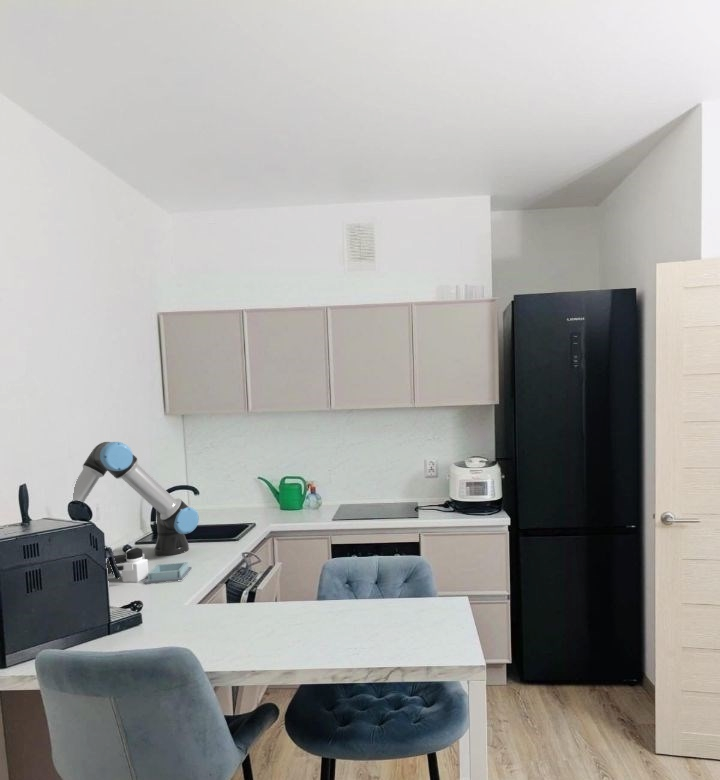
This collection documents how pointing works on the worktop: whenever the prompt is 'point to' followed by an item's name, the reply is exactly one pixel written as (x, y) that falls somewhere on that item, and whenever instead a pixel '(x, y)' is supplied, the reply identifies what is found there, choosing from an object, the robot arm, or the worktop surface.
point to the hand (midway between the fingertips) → (138, 561)
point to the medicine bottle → (135, 566)
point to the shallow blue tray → (168, 572)
